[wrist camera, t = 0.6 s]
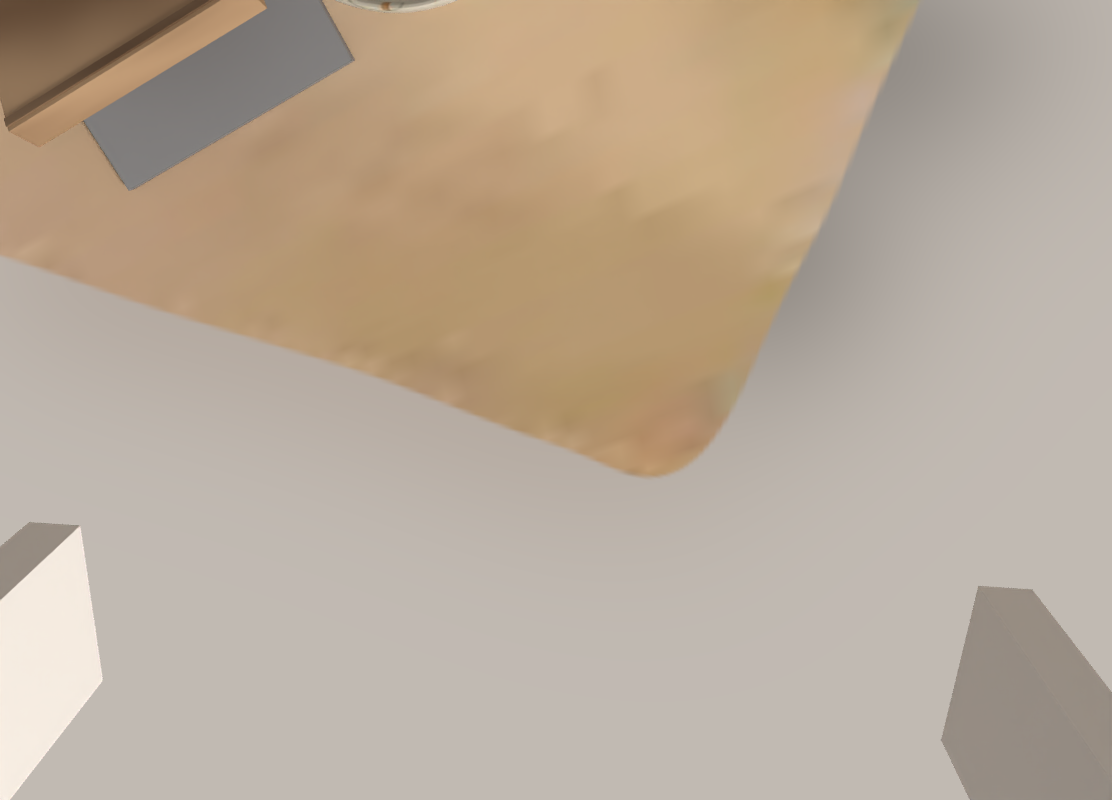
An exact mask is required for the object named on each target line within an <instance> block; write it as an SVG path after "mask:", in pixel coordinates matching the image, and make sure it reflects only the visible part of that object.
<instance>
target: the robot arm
mask: <svg viewBox="0 0 1112 800" xmlns="http://www.w3.org/2000/svg"><path fill="white" fill-rule="evenodd" d="M102 681H103V678H102V671H101V665H100V658H99V651H98V644H97V637H96V630H95V623H94V616H93V609H92V603H91V596H90V589H89V582H88V575H87V569H86V561H85V555H84V548H83V541H82V534H81V527H80V526H78V525H63V524H62V525H61V524H48V523H32V522H29V523H28V524H27V525H25V526H24V527H23V528H22V529H21V530H19V531H18V532H17V533H16V534H15V535H14V536H12V537H11V538H10V539H9V540H8V541H6V542H5V543H4V544H3V545H2V546H1V547H0V800H10V799H11V798H12V796H13V795H14V794H15V793H16V791H17V790H18V789H19V787H20V786H21V785H22V783H23V782H24V781H25V780H26V778H27V777H28V776H29V775H30V773H31V772H32V771H33V769H34V768H35V767H36V766H37V764H38V763H39V762H40V760H41V759H42V758H43V757H44V755H45V754H46V753H47V751H48V750H49V749H50V748H51V746H52V745H53V744H54V742H55V741H56V740H57V738H58V737H59V736H60V735H61V733H62V732H63V731H64V730H65V728H66V727H67V726H68V724H69V723H70V722H71V721H72V719H73V718H74V717H75V715H76V714H77V713H78V712H79V710H80V709H81V708H82V706H83V705H84V704H85V703H86V701H87V700H88V699H89V697H90V696H91V695H92V694H93V692H94V691H95V690H96V688H97V687H98V686H99V685H100V683H101V682H102ZM941 741H942V743H943V745H944V747H945V749H946V751H947V753H948V755H949V757H950V759H951V762H952V764H953V766H954V768H955V770H956V772H957V774H958V776H959V778H960V780H961V782H962V784H963V787H964V789H965V791H966V793H967V795H968V797H969V799H970V800H1112V692H1111V691H1110V689H1109V688H1108V687H1107V686H1106V684H1105V683H1104V682H1103V681H1102V679H1101V678H1100V677H1099V675H1098V674H1097V673H1096V671H1095V670H1094V669H1093V667H1092V666H1091V665H1090V664H1089V662H1088V661H1087V660H1086V658H1085V657H1084V656H1083V655H1082V653H1081V652H1080V651H1079V650H1078V648H1077V647H1076V646H1075V644H1074V643H1073V642H1072V640H1071V639H1070V638H1069V637H1068V635H1067V634H1066V633H1065V631H1064V630H1063V629H1062V628H1061V626H1060V625H1059V624H1058V622H1057V621H1056V620H1055V619H1054V617H1053V616H1052V615H1051V613H1050V612H1049V611H1048V609H1047V608H1046V607H1045V606H1044V604H1043V603H1042V602H1041V600H1040V599H1039V598H1038V596H1037V595H1036V594H1035V593H1034V592H1033V590H1030V589H1016V588H1001V587H986V586H978V590H977V594H976V598H975V603H974V606H973V610H972V615H971V619H970V623H969V627H968V631H967V635H966V640H965V644H964V648H963V652H962V656H961V660H960V664H959V669H958V673H957V677H956V681H955V685H954V689H953V693H952V698H951V702H950V706H949V710H948V714H947V718H946V722H945V727H944V731H943V735H942V739H941Z"/></svg>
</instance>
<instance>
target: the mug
mask: <svg viewBox="0 0 1112 800" xmlns="http://www.w3.org/2000/svg"><path fill="white" fill-rule="evenodd" d="M336 1H338V2H341V3H344V4H347V5H349V6H352V7H356V8H361V9H365V10H369V11H376V12H384V13H409V12H417V11H424V10H429V9H433V8H437V7H440V6H444V5H447V4H449V3H452V2H454V1H457V0H336Z"/></svg>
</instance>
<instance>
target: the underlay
mask: <svg viewBox="0 0 1112 800" xmlns="http://www.w3.org/2000/svg"><path fill="white" fill-rule="evenodd" d="M264 1H265V4H266V6H267V9H265V10H264V11H262V12H260V13H259V14H257V15H256V16H254V17H252V18H251V19H249V20H247V21H246V22H244V23H242V24H241V25H239V26H238V27H236V28H234V29H233V30H231V31H229V32H228V33H226V34H224V35H223V36H221V37H219V38H218V39H216V40H215V41H213V42H211V43H210V44H208V45H206V46H205V47H203V48H201V49H200V50H198V51H197V52H195V53H193V54H192V55H190V56H188V57H187V58H185V59H183V60H182V61H180V62H178V63H177V64H175V65H174V66H172V67H170V68H169V69H167V70H165V71H164V72H162V73H160V74H159V75H157V76H156V77H154V78H152V79H151V80H149V81H147V82H146V83H144V84H142V85H141V86H139V87H137V88H136V89H134V90H133V91H131V92H129V93H128V94H126V95H124V96H123V97H121V98H119V99H118V100H116V101H115V102H113V103H111V104H110V105H108V106H106V107H105V108H103V109H101V110H100V111H98V112H96V113H95V114H93V115H92V116H90V117H88V118H87V119H85V120H83V121H84V122H85V124H86V125H87V127H88V129H89V130H90V132H91V133H92V135H93V136H94V138H95V139H96V141H97V142H98V144H99V145H100V147H101V149H102V150H103V152H104V153H105V155H106V156H107V158H108V159H109V161H110V162H111V164H112V165H113V167H114V169H115V170H116V172H117V173H118V175H119V176H120V178H121V179H122V181H123V182H124V184H125V185H126V187H127V189H128V190H129V191H130V190H133V189H135V188H137V187H139V186H140V185H142V184H144V183H146V182H147V181H149V180H151V179H152V178H154V177H156V176H158V175H159V174H161V173H163V172H164V171H166V170H168V169H170V168H171V167H173V166H175V165H176V164H178V163H180V162H182V161H183V160H185V159H187V158H188V157H190V156H192V155H194V154H195V153H197V152H199V151H200V150H202V149H204V148H206V147H207V146H209V145H211V144H212V143H214V142H216V141H218V140H219V139H221V138H223V137H224V136H226V135H228V134H230V133H231V132H233V131H235V130H236V129H238V128H240V127H242V126H243V125H245V124H247V123H248V122H250V121H252V120H254V119H255V118H257V117H259V116H260V115H262V114H264V113H266V112H267V111H269V110H271V109H272V108H274V107H276V106H278V105H279V104H281V103H283V102H284V101H286V100H288V99H290V98H291V97H293V96H295V95H296V94H298V93H300V92H302V91H303V90H305V89H307V88H308V87H310V86H312V85H314V84H315V83H317V82H319V81H320V80H322V79H324V78H326V77H327V76H329V75H331V74H332V73H334V72H336V71H338V70H339V69H341V68H343V67H344V66H346V65H348V64H350V63H351V62H353V61H355V59H354V58H353V56H352V54H351V52H350V50H349V49H348V47H347V45H346V43H345V41H344V40H343V38H342V36H341V34H340V32H339V31H338V29H337V27H336V25H335V23H334V21H333V20H332V18H331V16H330V14H329V12H328V11H327V9H326V7H325V5H324V3H323V2H322V0H264Z"/></svg>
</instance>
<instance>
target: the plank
mask: <svg viewBox="0 0 1112 800" xmlns="http://www.w3.org/2000/svg"><path fill="white" fill-rule="evenodd" d="M265 9H267V6H266V4H265V1H264V0H0V99H1V103H2V107H3V111H4V115H5V119H4V121H5V125H6V127H8V130H9V132H11V133H13V134H15V135H17V136H19V137H21V138H22V139H24V140H26V141H28V142H30V143H32V144H34V145H36V146H38V147H41V146H42V145H44V144H46V143H47V142H49V141H51V140H52V139H54V138H55V137H57V136H59V135H60V134H62V133H64V132H65V131H67V130H69V129H70V128H72V127H74V126H75V125H77V124H78V123H80V122H82V121H83V120H85V119H87V118H88V117H90V116H92V115H93V114H95V113H96V112H98V111H100V110H101V109H103V108H105V107H106V106H108V105H110V104H111V103H113V102H115V101H116V100H118V99H119V98H121V97H123V96H124V95H126V94H128V93H129V92H131V91H133V90H134V89H136V88H137V87H139V86H141V85H142V84H144V83H146V82H147V81H149V80H151V79H152V78H154V77H156V76H157V75H159V74H160V73H162V72H164V71H165V70H167V69H169V68H170V67H172V66H174V65H175V64H177V63H178V62H180V61H182V60H183V59H185V58H187V57H188V56H190V55H192V54H193V53H195V52H197V51H198V50H200V49H201V48H203V47H205V46H206V45H208V44H210V43H211V42H213V41H215V40H216V39H218V38H219V37H221V36H223V35H224V34H226V33H228V32H229V31H231V30H233V29H234V28H236V27H238V26H239V25H241V24H242V23H244V22H246V21H247V20H249V19H251V18H252V17H254V16H256V15H257V14H259V13H260V12H262V11H264V10H265Z"/></svg>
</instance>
